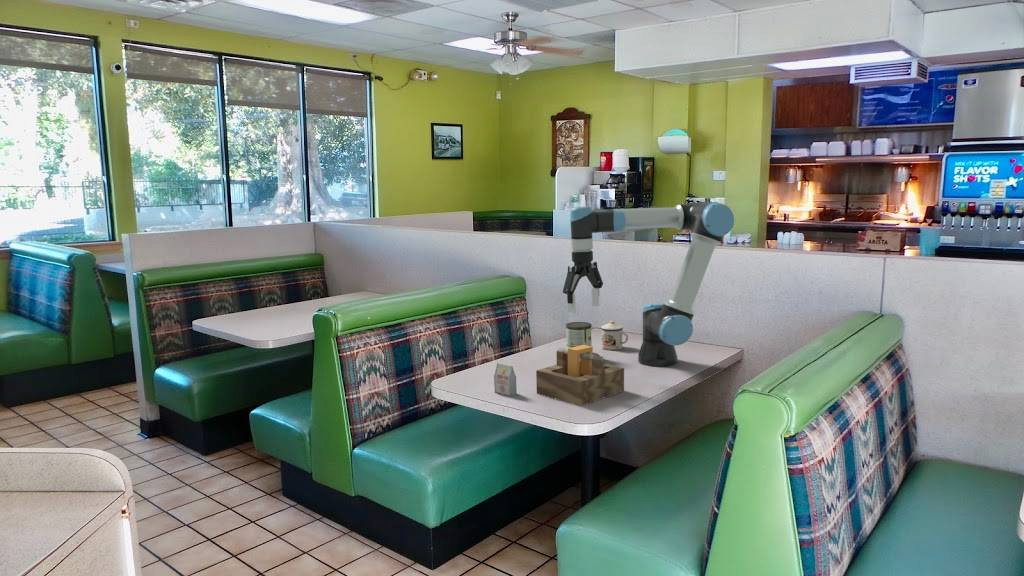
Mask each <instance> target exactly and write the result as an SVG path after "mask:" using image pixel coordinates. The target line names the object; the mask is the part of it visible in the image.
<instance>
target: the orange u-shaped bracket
mask: <svg viewBox="0 0 1024 576" xmlns="http://www.w3.org/2000/svg"><path fill="white" fill-rule="evenodd" d="M593 348H594V347H593V346H592V345H591V346H587V345H581V346H576V347H572V348H568V376H571V377H575V378H578V377H580V354H582V353H588V354H593V353H594V352H593ZM591 373H592V360H587V359H583V358H581V374H582V375H587V374H591Z"/></svg>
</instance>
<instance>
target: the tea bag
mask: <svg viewBox="0 0 1024 576" xmlns="http://www.w3.org/2000/svg"><path fill="white" fill-rule="evenodd" d="M493 379H494V380H493V381H494V383H493V384H494V386H493V387H494V393H495V394H498V395H502V396H507V397H511V396H514V395H516V394H517V375H516V372H515V371H514V368H513V365H508V364H504V363H498V362H497V363H496V368H495V372H494V375H493ZM517 395H518V394H517Z"/></svg>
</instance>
